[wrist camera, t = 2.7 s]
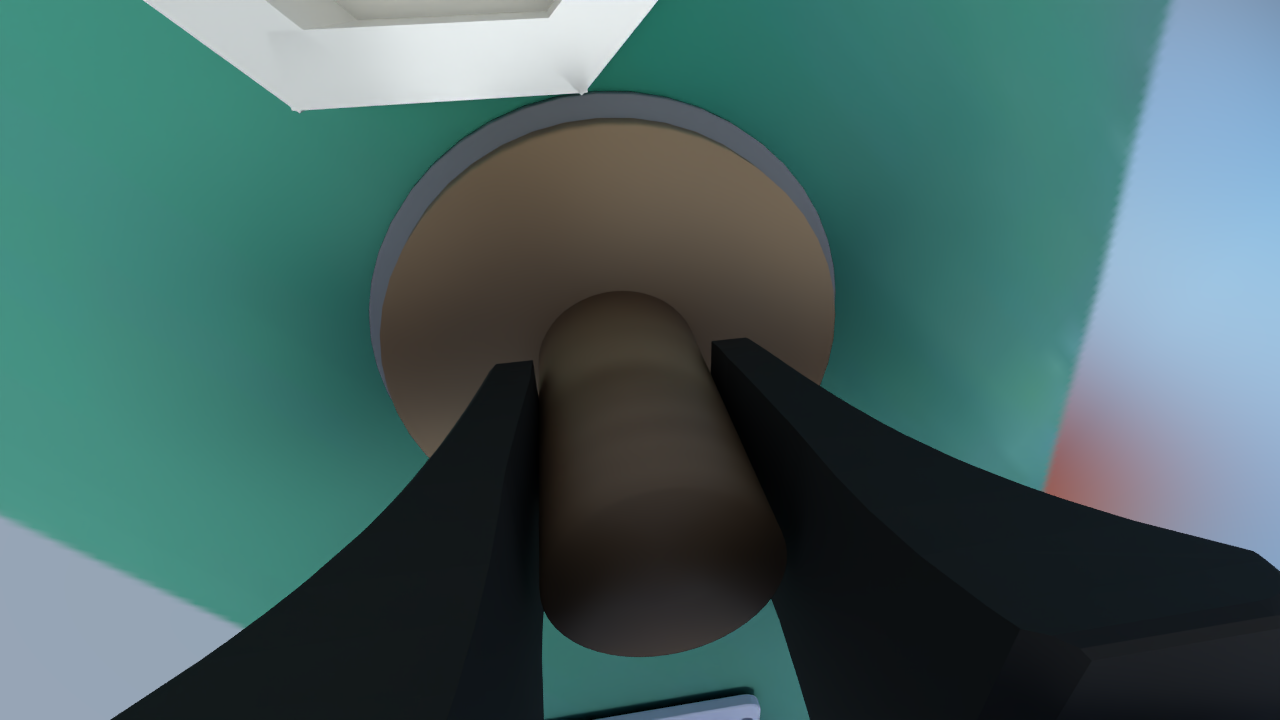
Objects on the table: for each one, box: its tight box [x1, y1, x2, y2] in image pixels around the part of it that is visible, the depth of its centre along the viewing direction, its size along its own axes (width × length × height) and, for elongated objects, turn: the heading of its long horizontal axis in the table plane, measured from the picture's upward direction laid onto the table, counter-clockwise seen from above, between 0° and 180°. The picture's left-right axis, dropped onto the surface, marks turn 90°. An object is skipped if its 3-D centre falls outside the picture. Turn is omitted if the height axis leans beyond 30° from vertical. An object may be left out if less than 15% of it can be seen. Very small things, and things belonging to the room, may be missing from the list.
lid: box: [380, 118, 835, 657], centre depth 10 cm, size 8×8×6 cm
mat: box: [369, 91, 835, 399], centre depth 12 cm, size 9×9×1 cm
